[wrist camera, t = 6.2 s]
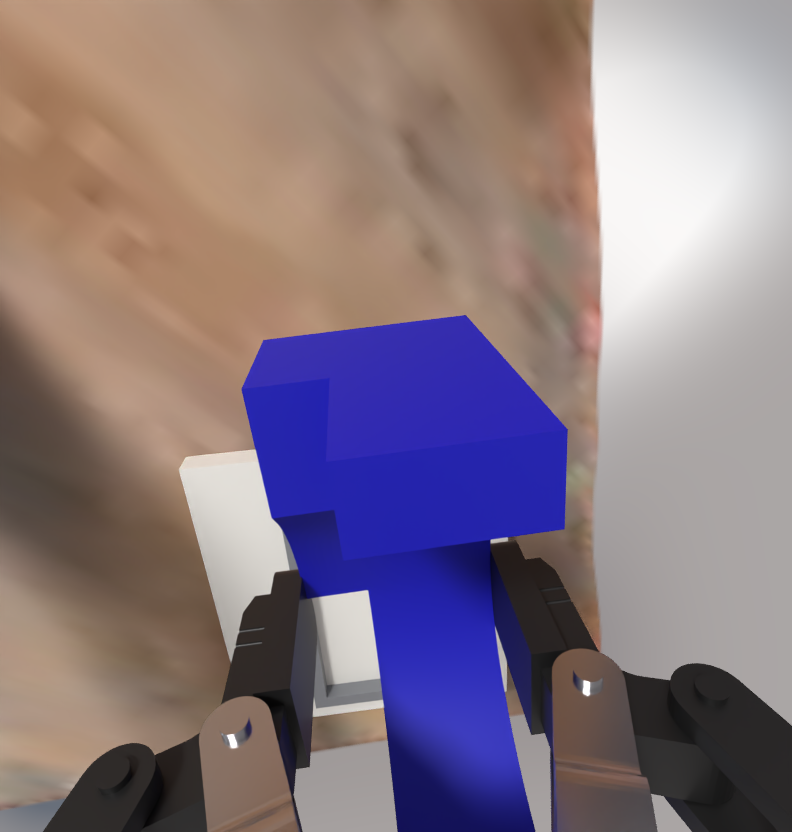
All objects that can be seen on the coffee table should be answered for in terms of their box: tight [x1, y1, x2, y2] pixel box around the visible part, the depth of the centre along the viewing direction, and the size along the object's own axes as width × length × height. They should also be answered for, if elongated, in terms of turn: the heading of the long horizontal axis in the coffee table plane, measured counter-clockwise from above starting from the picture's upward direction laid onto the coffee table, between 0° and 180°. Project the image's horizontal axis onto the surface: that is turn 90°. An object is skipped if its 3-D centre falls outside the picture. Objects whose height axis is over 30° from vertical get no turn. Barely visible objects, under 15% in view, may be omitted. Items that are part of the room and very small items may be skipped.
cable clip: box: [242, 315, 568, 832], centre depth 12 cm, size 12×4×6 cm, turn 6°
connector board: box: [179, 449, 508, 717], centre depth 34 cm, size 18×20×2 cm
